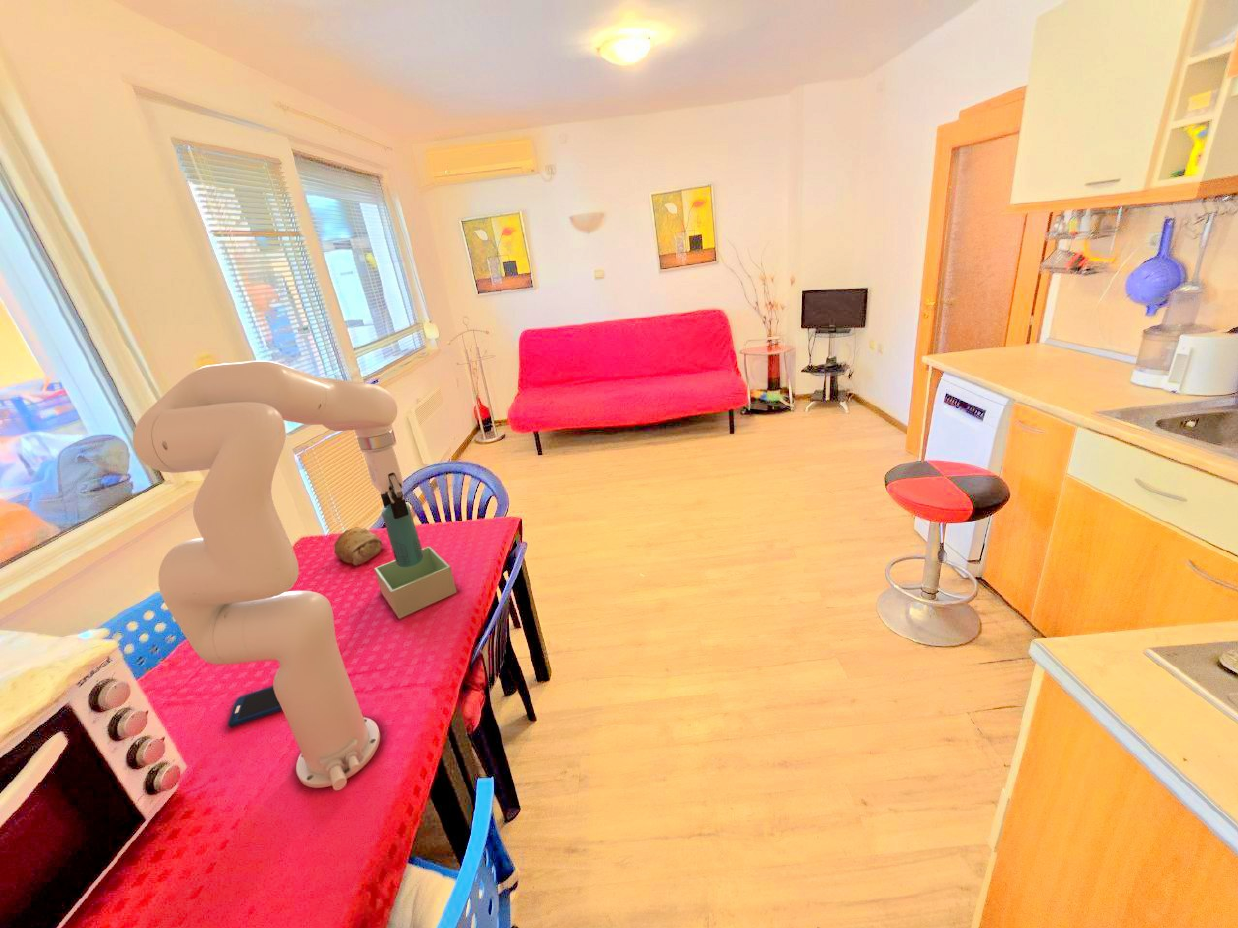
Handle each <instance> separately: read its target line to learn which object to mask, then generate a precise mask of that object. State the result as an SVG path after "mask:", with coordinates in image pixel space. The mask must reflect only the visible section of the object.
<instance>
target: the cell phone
mask: <svg viewBox="0 0 1238 928" xmlns="http://www.w3.org/2000/svg"><path fill="white" fill-rule="evenodd" d="M281 711H283V710H282V708H281V706H280V703H279V702H278V700H277V697H276V695H275V692H274V689H273V685H272V686H269V687H266V688H262V689H259V690H256V691H253V692H250V693H248V694H247V693H246V694H244V695H242V696H239V697H238V698H237V699H235V702H234V705H233V708H232V711H231V714H230V717H229V720H228V723H227V726H228V727H229V728H234V727H238V726H240V725H243V724H246V723H249V722H252V721H255V720H258V719H260V718H261V719H262V718H265V717H266V716H269V715H272V714H275V713H278V712H281Z"/></svg>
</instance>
